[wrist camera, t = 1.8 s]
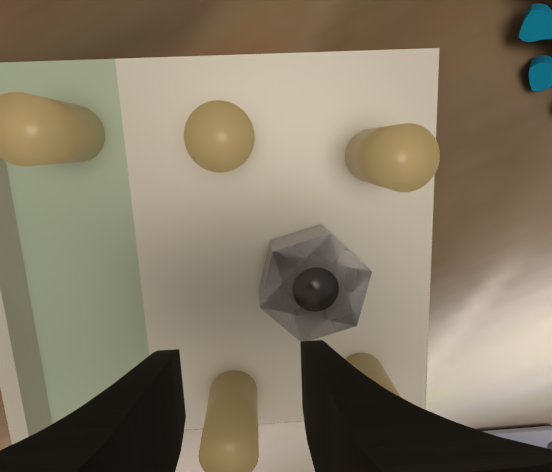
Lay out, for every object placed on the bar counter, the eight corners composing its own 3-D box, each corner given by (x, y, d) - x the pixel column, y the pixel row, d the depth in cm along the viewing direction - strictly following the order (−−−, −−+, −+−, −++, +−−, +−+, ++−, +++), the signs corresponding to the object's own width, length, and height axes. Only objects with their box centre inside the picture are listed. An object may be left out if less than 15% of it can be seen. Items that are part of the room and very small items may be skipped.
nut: (370, 299, 21) (384, 317, 18) (272, 330, 21) (274, 352, 18) (347, 215, 20) (359, 224, 17) (244, 248, 20) (243, 260, 17)
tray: (417, 401, 23) (468, 478, 18) (48, 427, 22) (-17, 517, 17) (429, 52, 19) (498, 16, 14) (-17, 67, 18) (-128, 35, 13)
